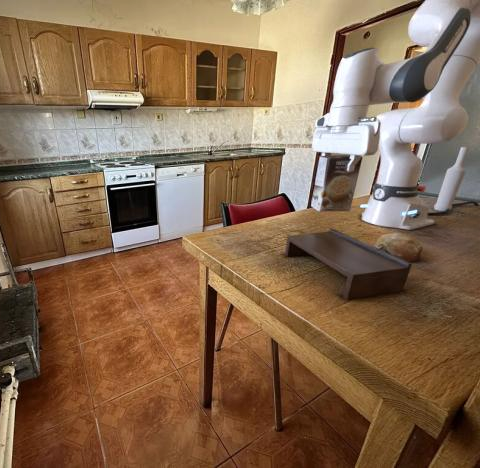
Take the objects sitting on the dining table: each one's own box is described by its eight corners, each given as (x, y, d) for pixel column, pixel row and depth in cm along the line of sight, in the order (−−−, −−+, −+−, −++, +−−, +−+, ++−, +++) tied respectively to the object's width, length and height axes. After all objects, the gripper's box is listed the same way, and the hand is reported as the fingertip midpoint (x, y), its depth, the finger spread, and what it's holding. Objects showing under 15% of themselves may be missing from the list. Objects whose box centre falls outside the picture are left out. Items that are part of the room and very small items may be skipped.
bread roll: (367, 260, 77) (365, 240, 73) (389, 241, 78) (389, 220, 75) (406, 275, 68) (407, 253, 64) (431, 253, 70) (433, 231, 66)
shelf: (327, 249, 76) (332, 228, 74) (402, 290, 56) (412, 263, 54) (284, 255, 74) (287, 233, 72) (347, 299, 54) (354, 271, 52)
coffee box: (319, 212, 78) (328, 157, 72) (310, 206, 84) (318, 155, 78) (351, 211, 77) (363, 156, 71) (340, 205, 83) (350, 154, 77)
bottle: (439, 211, 106) (463, 147, 97) (430, 208, 111) (451, 147, 101) (454, 211, 105) (479, 147, 96) (443, 208, 110) (466, 146, 101)
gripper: (393, 115, 62) (378, 173, 67) (329, 120, 81) (322, 165, 86) (370, 116, 61) (357, 175, 66) (311, 121, 80) (305, 166, 85)
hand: (337, 169), depth 76 cm, fingers closed on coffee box, 7 cm apart
